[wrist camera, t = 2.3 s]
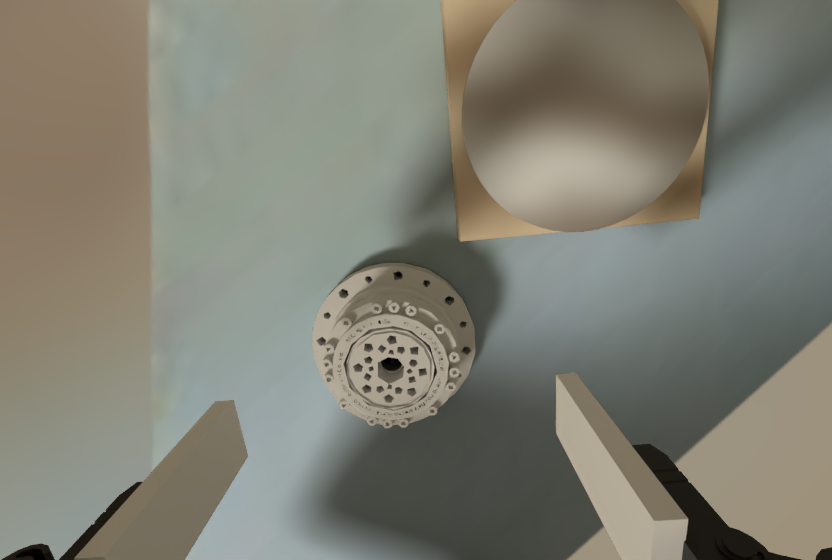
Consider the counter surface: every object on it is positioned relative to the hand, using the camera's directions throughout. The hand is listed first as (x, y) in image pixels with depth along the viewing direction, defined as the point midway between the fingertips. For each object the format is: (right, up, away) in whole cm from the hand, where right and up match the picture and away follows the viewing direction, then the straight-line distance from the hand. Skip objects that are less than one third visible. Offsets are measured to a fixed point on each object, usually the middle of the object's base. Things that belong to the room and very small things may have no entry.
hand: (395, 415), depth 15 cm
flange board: (+9, +17, +5) cm, 20 cm away
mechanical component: (-1, +2, +9) cm, 9 cm away
